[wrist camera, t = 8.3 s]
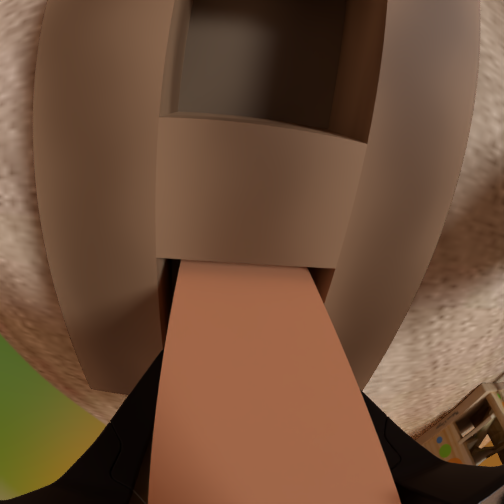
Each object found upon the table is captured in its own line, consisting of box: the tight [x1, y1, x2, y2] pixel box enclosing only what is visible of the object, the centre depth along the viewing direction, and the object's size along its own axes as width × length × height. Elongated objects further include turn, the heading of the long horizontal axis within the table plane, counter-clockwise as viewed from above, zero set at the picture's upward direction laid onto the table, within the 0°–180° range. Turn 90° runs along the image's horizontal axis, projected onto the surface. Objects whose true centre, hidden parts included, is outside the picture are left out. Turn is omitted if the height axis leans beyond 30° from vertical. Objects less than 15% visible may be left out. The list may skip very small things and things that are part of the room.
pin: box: [148, 259, 401, 504], centre depth 8 cm, size 4×4×10 cm
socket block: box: [33, 0, 480, 395], centre depth 10 cm, size 14×20×4 cm
